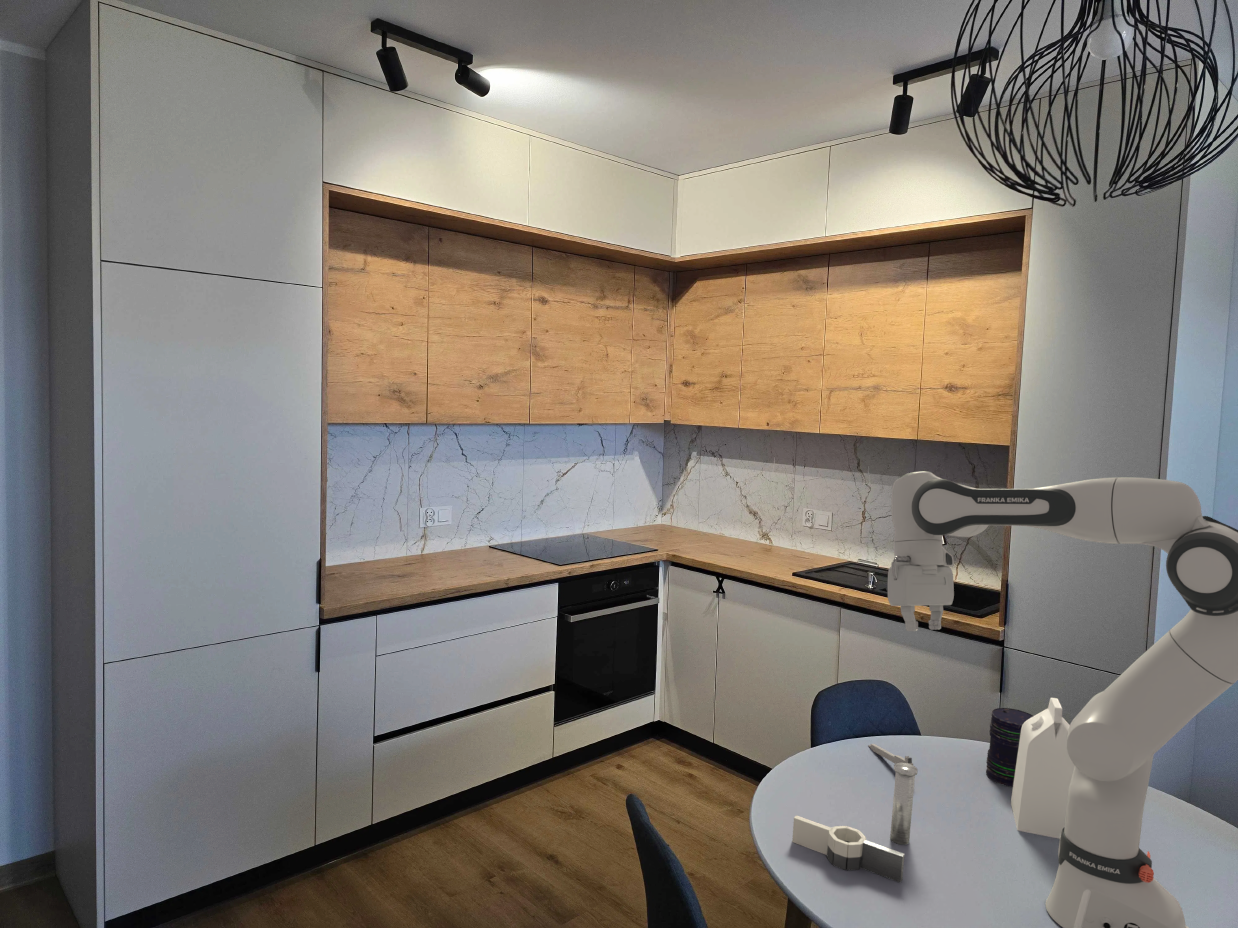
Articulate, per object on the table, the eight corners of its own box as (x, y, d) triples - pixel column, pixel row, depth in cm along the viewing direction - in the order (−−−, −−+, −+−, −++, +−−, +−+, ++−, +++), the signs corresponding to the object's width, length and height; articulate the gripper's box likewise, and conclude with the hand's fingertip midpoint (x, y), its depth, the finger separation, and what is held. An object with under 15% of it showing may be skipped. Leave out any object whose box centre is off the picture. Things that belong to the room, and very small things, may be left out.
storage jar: (1041, 784, 194) (1048, 722, 192) (1009, 790, 190) (1015, 727, 188) (1007, 765, 203) (1013, 705, 201) (975, 770, 199) (981, 709, 198)
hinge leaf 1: (867, 858, 160) (869, 833, 160) (856, 874, 155) (858, 848, 154) (799, 833, 168) (801, 809, 167) (786, 847, 163) (788, 822, 162)
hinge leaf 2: (906, 872, 156) (908, 847, 155) (895, 889, 151) (898, 863, 150) (835, 846, 164) (837, 822, 163) (822, 861, 159) (824, 836, 158)
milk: (1079, 842, 169) (1093, 718, 167) (1017, 830, 173) (1029, 708, 170) (1069, 814, 181) (1081, 697, 178) (1010, 802, 184) (1022, 688, 182)
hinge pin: (914, 838, 168) (920, 766, 166) (907, 848, 164) (914, 775, 163) (891, 831, 170) (897, 760, 169) (885, 840, 167) (891, 768, 165)
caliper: (912, 786, 190) (915, 760, 190) (908, 786, 190) (910, 760, 190) (871, 746, 210) (873, 722, 210) (867, 746, 210) (869, 722, 210)
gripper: (908, 554, 152) (913, 632, 150) (957, 557, 166) (963, 628, 164) (876, 556, 157) (881, 631, 154) (927, 559, 171) (932, 628, 169)
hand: (923, 630), depth 159 cm, fingers open, 8 cm apart
